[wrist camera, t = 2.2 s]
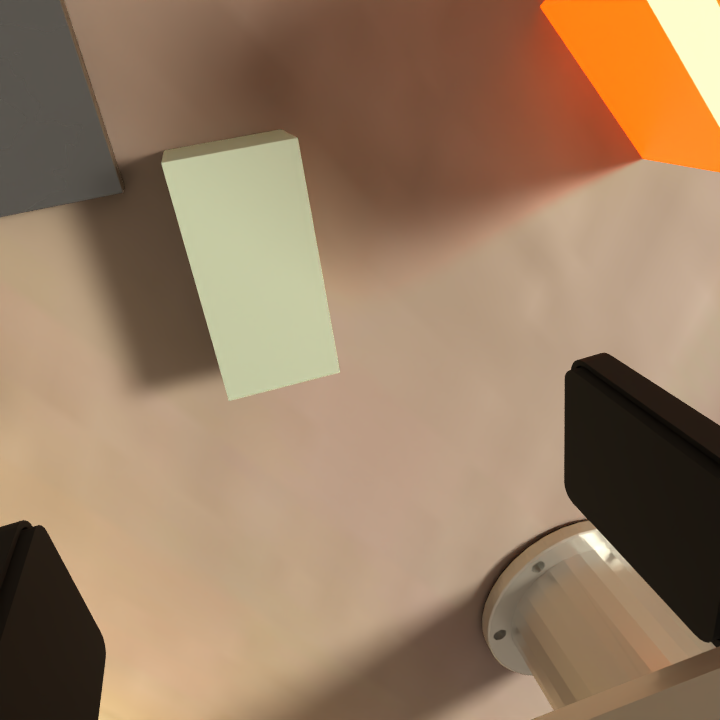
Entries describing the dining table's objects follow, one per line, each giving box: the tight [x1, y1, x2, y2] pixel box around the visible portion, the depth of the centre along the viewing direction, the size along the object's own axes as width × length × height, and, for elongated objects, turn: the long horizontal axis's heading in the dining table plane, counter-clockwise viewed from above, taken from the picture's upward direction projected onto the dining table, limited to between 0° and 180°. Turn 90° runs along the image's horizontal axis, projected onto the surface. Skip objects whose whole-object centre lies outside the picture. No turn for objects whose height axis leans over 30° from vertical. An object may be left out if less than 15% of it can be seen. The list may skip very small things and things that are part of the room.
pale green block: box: [161, 129, 340, 401], centre depth 23 cm, size 4×9×4 cm, turn 8°
